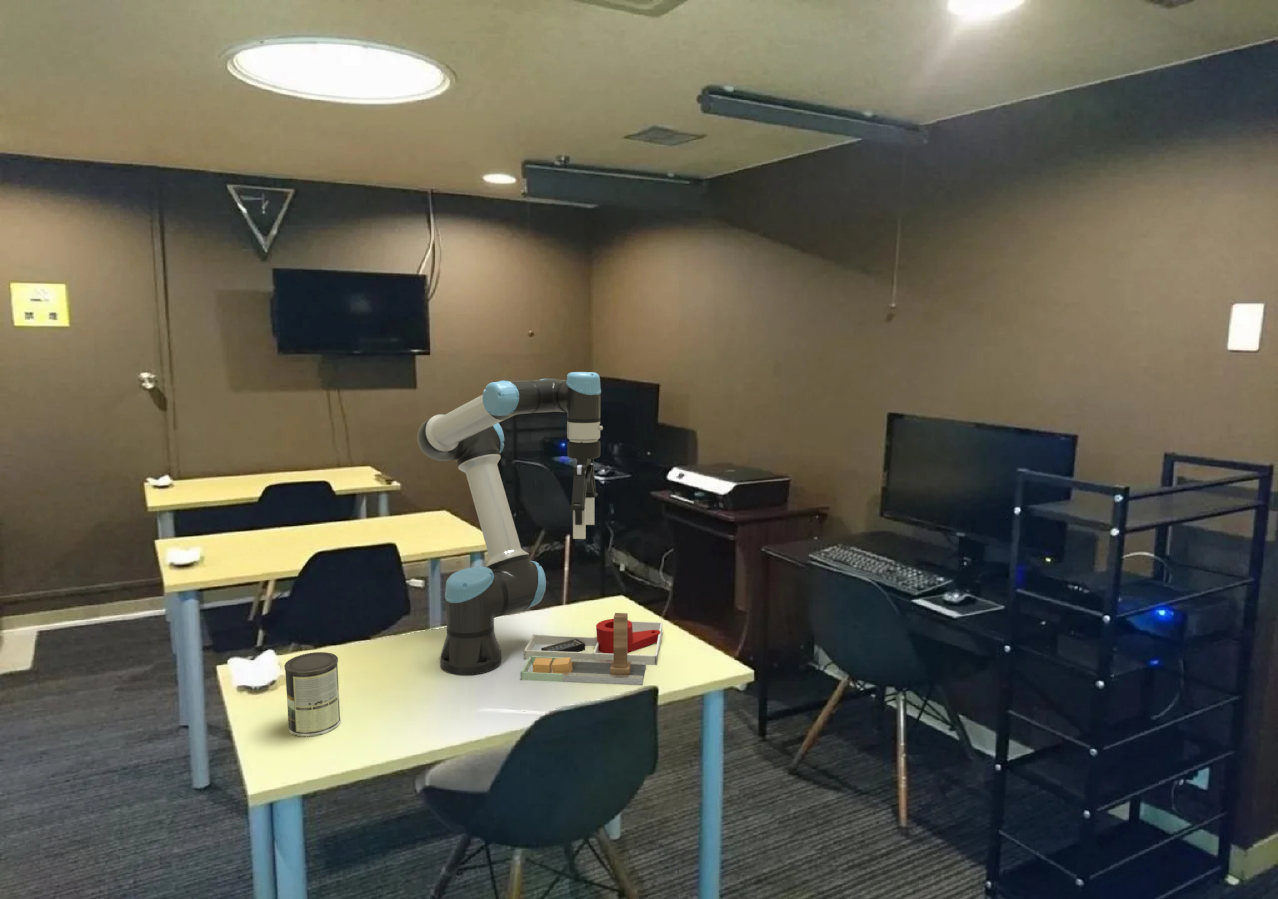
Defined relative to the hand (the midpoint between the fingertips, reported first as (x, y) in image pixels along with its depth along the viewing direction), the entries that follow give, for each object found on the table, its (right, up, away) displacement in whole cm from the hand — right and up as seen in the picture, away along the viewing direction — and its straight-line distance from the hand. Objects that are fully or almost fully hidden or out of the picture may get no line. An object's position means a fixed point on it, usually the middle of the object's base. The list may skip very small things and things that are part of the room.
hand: (584, 531), depth 184 cm
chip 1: (-11, -35, +9) cm, 38 cm away
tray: (-10, -36, +9) cm, 38 cm away
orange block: (-6, -35, +8) cm, 37 cm away
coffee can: (-55, -39, -17) cm, 70 cm away
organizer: (+2, -33, +27) cm, 43 cm away
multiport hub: (-7, -34, +21) cm, 41 cm away
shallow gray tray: (+5, -36, +8) cm, 37 cm away
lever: (+10, -33, +26) cm, 43 cm away
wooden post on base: (+8, -35, +7) cm, 37 cm away
